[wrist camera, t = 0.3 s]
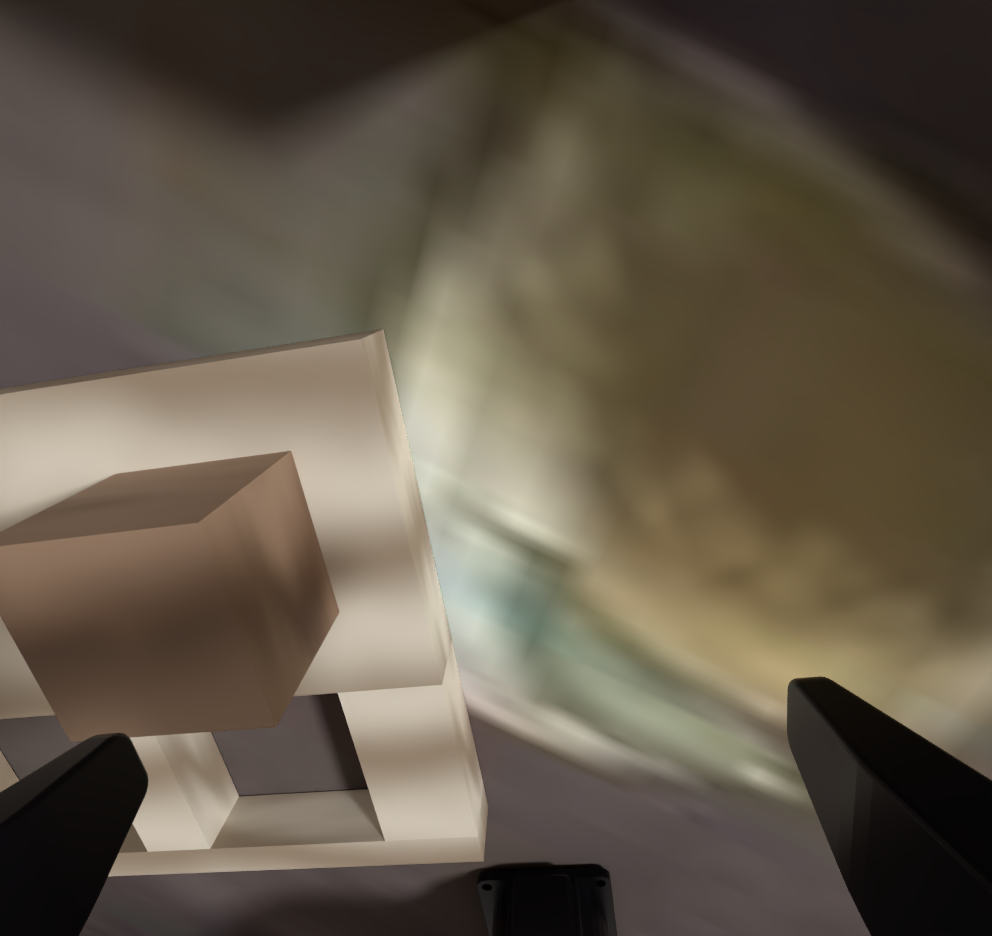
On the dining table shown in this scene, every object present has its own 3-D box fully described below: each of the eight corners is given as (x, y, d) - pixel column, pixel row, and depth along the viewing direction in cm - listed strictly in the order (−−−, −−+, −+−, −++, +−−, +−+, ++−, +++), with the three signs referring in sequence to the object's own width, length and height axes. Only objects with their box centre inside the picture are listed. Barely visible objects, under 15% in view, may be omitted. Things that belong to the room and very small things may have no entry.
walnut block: (339, 612, 19) (275, 727, 14) (181, 627, 19) (70, 741, 15) (291, 450, 17) (198, 522, 12) (116, 473, 17) (-38, 550, 13)
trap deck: (488, 805, 25) (479, 914, 21) (-37, 833, 28) (-136, 932, 24) (383, 329, 18) (336, 349, 13) (-314, 437, 21) (-529, 480, 17)
